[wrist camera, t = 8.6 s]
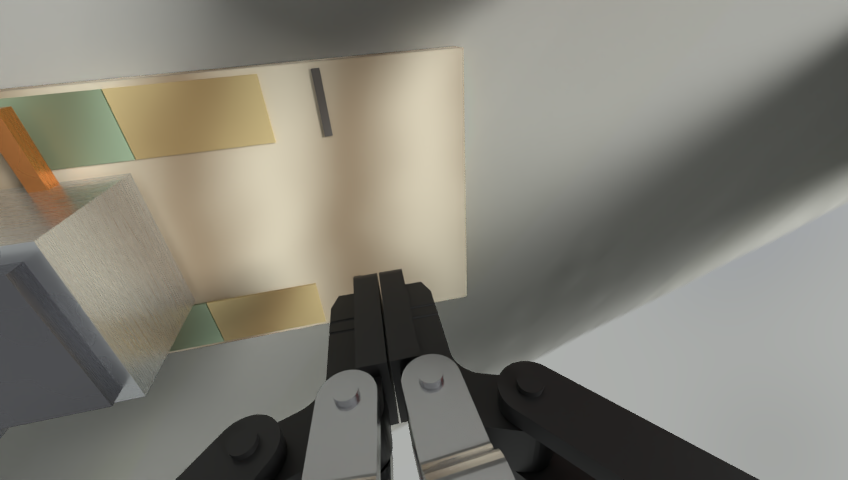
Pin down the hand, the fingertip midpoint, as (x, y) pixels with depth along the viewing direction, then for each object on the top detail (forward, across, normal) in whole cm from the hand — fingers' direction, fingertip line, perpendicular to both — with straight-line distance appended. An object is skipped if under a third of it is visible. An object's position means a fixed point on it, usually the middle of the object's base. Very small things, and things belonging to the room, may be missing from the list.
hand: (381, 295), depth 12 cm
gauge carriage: (+5, +11, 0) cm, 12 cm away
